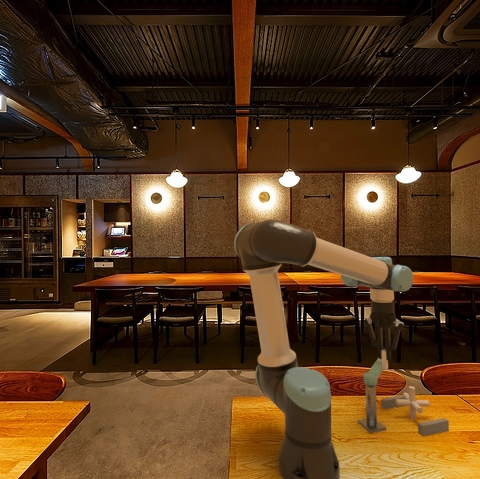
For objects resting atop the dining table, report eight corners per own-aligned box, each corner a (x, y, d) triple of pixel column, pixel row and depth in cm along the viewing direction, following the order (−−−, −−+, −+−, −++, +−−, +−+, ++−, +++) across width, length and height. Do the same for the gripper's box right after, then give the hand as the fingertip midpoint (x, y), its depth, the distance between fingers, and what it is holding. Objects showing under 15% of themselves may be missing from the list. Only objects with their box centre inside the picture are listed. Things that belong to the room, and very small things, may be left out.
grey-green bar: (375, 386, 92) (375, 378, 92) (362, 383, 94) (362, 375, 94) (388, 366, 108) (388, 359, 108) (376, 363, 110) (376, 356, 110)
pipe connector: (421, 410, 102) (420, 381, 103) (437, 427, 93) (436, 395, 93) (390, 409, 103) (390, 380, 104) (403, 426, 94) (402, 394, 94)
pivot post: (370, 433, 90) (369, 388, 91) (357, 422, 96) (356, 380, 96) (386, 430, 92) (385, 386, 92) (373, 419, 98) (372, 378, 98)
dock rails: (422, 436, 89) (422, 425, 89) (381, 407, 105) (381, 398, 105) (448, 430, 91) (448, 420, 91) (404, 403, 108) (404, 394, 108)
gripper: (404, 300, 104) (407, 369, 103) (365, 298, 111) (367, 362, 110) (401, 303, 98) (404, 376, 97) (360, 300, 105) (363, 368, 104)
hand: (385, 368), depth 104 cm, fingers closed
